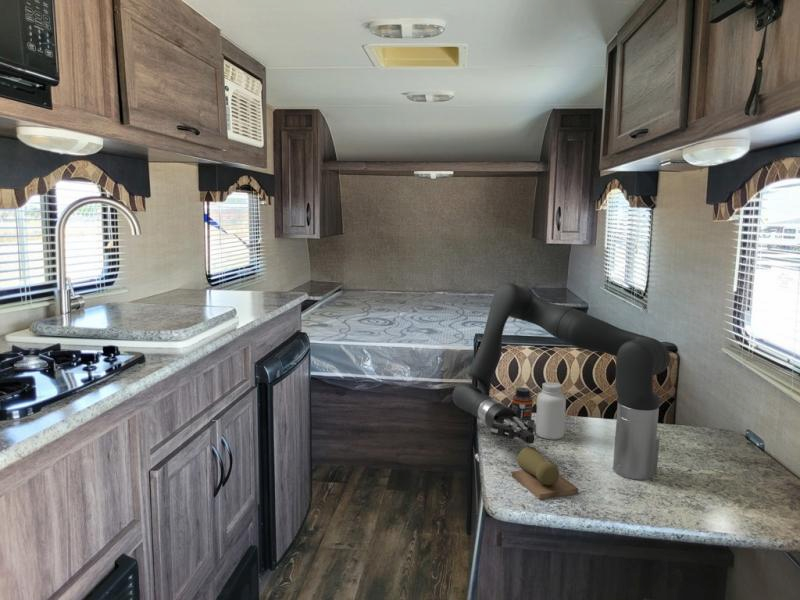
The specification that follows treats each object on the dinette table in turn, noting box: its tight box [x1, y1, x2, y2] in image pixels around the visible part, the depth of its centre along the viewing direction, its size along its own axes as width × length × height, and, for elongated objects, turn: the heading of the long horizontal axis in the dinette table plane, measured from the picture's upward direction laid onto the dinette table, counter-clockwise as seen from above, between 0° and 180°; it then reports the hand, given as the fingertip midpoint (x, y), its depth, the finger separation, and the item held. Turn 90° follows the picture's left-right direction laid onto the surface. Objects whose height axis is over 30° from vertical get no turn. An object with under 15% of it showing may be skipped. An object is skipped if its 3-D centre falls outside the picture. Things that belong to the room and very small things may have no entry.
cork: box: [516, 446, 560, 486], centre depth 134 cm, size 6×6×11 cm
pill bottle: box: [535, 381, 567, 440], centre depth 163 cm, size 8×8×15 cm
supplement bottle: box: [511, 386, 534, 422], centre depth 170 cm, size 6×6×11 cm
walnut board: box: [511, 469, 579, 500], centre depth 133 cm, size 10×12×1 cm
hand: (531, 439), depth 138 cm, fingers closed
